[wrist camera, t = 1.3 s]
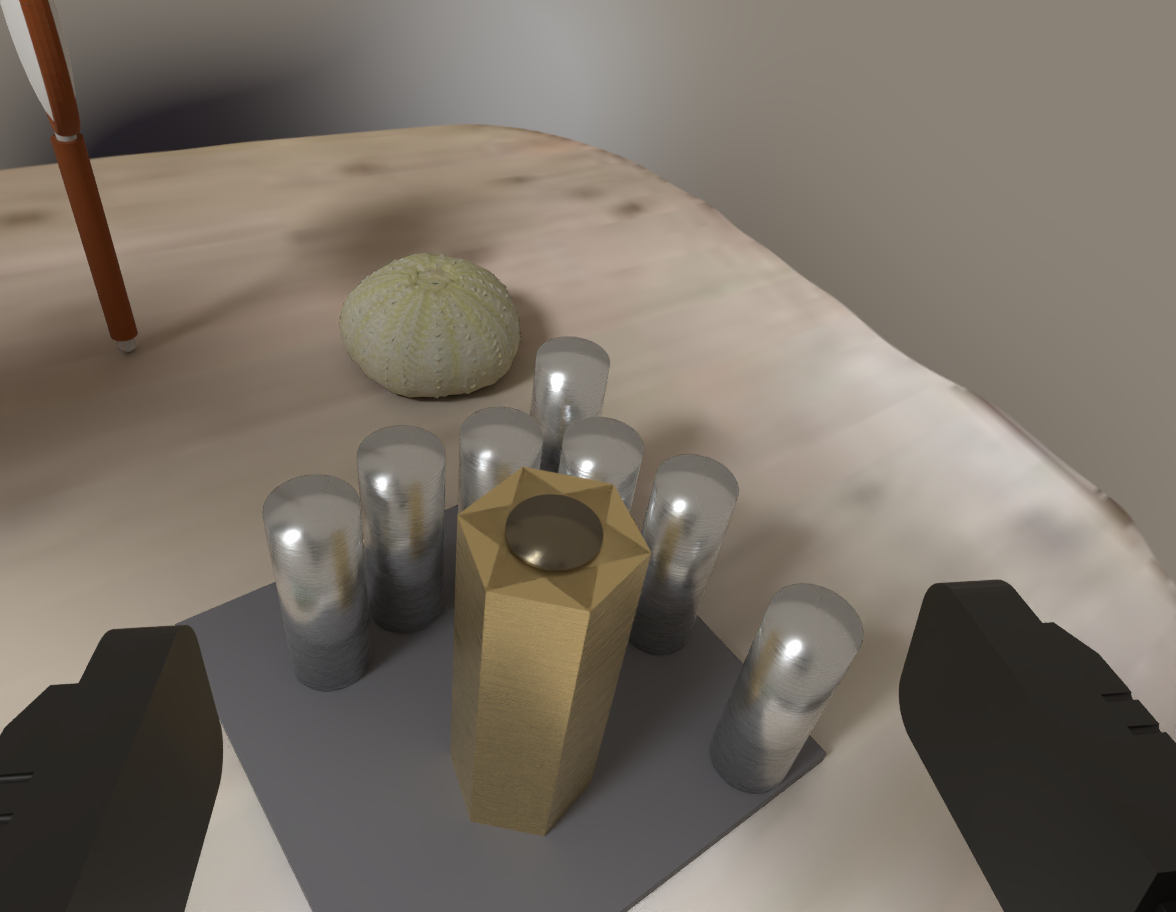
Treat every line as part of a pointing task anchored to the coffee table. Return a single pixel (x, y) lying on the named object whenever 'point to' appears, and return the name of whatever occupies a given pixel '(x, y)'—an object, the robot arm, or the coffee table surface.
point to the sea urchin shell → (431, 326)
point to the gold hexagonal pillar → (538, 641)
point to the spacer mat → (429, 782)
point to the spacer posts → (571, 447)
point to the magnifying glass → (71, 151)
